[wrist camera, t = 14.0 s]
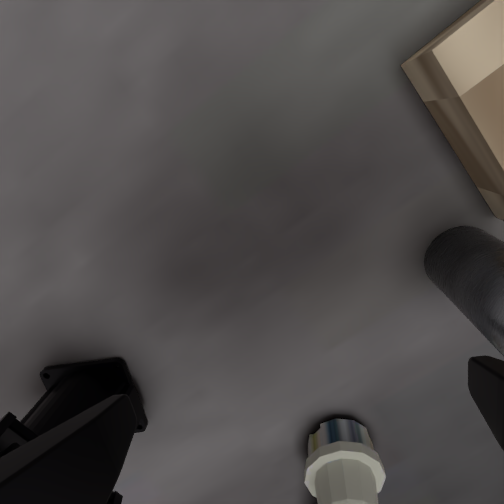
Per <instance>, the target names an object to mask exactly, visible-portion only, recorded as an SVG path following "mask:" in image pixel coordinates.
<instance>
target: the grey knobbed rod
mask: <svg viewBox="0 0 504 504" xmlns="http://www.w3.org/2000/svg"><path fill="white" fill-rule="evenodd" d="M385 478H386V475H385V471H384V467H383V464H382V462H381V460H380V458H379V455H378V453H377V452H375V451H374V448H373V443H372V440H371V439H370V437H369V435H368V433H367V428H365V427H364V426H362V425H361V424H359V423H357V422H356V421H354V420H347V419H333V420H330V421H327V422H324V423H321V424H320V429H319V430H318V431H317V432H316V433H315V434H310V435H309V441H308V458H307V459H306V465H305V471H304V482H305V484H306V486H307V488H308V489H309V491H310V493H311V494H312V496H314V497H316V498H317V502H318V504H378V496H377V493H379V492H380V491H381V489H382V486H383V483H384V481H385Z"/></svg>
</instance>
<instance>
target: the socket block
mask: <svg viewBox="0 0 504 504" xmlns="http://www.w3.org/2000/svg"><path fill="white" fill-rule="evenodd" d="M401 67H402V68H403V70H404V72H405V73H406V75H407V76H408V78H409V80H410V81H411V83H412V84H413V86H414V88H415V89H416V91H417V92H418V94H419V96H420V97H421V99H422V100H423V102H424V104H425V105H426V107H427V108H428V110H429V112H430V113H431V115H432V116H433V118H434V120H435V121H436V123H437V124H438V126H439V128H440V129H441V131H442V132H443V134H444V136H445V137H446V139H447V140H448V142H449V144H450V145H451V147H452V148H453V150H454V151H455V153H456V155H457V156H458V158H459V159H460V161H461V163H462V164H463V166H464V167H465V169H466V171H467V172H468V174H469V175H470V177H471V179H472V180H473V182H474V183H475V185H476V187H477V188H478V190H479V191H480V193H481V195H482V196H483V198H484V199H485V201H486V203H487V204H488V206H489V207H490V209H491V211H492V212H493V214H494V215H495V217H496V218H499V219H501V220H503V221H504V0H481V1H479V2H478V3H477V4H476V5H474V6H473V7H472V8H471V9H470V10H468V11H467V12H466V13H465V14H463V15H462V16H461V17H460V18H458V19H457V20H456V21H455V22H453V23H452V24H451V25H450V26H449V27H447V28H446V29H445V30H444V31H442V32H441V33H440V34H439V35H437V36H436V37H435V38H434V39H432V40H431V41H430V42H429V43H427V44H426V45H425V46H424V47H423V48H421V49H420V50H419V51H418V52H416V53H415V54H414V55H413V56H411V57H410V58H409V59H408V60H406V61H405V62H404V63H403V64H402V65H401Z"/></svg>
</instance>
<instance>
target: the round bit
mask: <svg viewBox="0 0 504 504" xmlns="http://www.w3.org/2000/svg"><path fill="white" fill-rule="evenodd" d="M424 265H425V270H426V273H427V275H428V277H429V278H430V279H431V280H432V281H433V282H434V283H435V285H436V286H437V287H438V288H439V289H440V290H441V291H442V292H443V293H444V294H445V295H446V296H447V297H448V298H449V299H450V300H451V301H452V302H453V303H454V305H455V306H456V307H457V308H458V309H459V310H460V311H461V312H462V313H463V314H464V315H465V316H466V317H467V318H468V319H469V320H470V321H471V322H472V324H473V325H474V326H475V327H476V328H477V329H478V330H479V331H480V332H481V333H482V334H483V335H484V336H485V337H486V338H487V339H488V340H489V341H490V343H491V344H492V345H493V346H494V347H495V348H496V349H497V350H498V351H499V352H500V353H501V354H502V355H503V356H504V242H503V241H501V240H499V239H497V238H496V237H494V236H492V235H490V234H488V233H486V232H484V231H483V230H481V229H478V228H475V227H470V226H462V227H456V228H452V229H450V230H447V231H445V232H444V233H442V234H441V235H439V236H438V237H437V238H436V239H435V240H434V241H433V242H432V243H431V245H430V246H429V248H428V250H427V252H426V255H425V260H424Z"/></svg>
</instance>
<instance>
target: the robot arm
mask: <svg viewBox="0 0 504 504" xmlns="http://www.w3.org/2000/svg"><path fill="white" fill-rule="evenodd" d="M116 365H118V366H119V367H118V366H116ZM40 377H41V379H42V381H43V383H44V385H45V387H46V389H47V392H46V393H45V394H44V395H43V396H42V397H41V399H40V400H39V401H38V402H37V403H36V404H35V405H34V407H33V408H32V409H31V410H30V411H29V412H28V413H27V415H26V416H25V417H24V418H23V419H22V420H21V422H19V421H18V420H17V419H16V416H15V415H13V414H12V413H11V412H8V413H7V414H6V415H5V416H4V417H3V418H2V419H1V420H0V504H121V502H122V497H123V496H122V495H120V494H119V493H118V492H116V491H115V492H113V491H112V490H113V488H114V486H115V484H116V482H117V479H118V477H119V474H120V472H121V469H122V467H123V464H124V461H125V458H126V455H127V452H128V449H129V446H130V444H131V441H132V438H133V435H134V433H137V432H143V431H145V429H146V427H147V425H148V424H147V420H146V417H145V415H144V410H143V407H142V404H141V402H140V399H139V396H138V394H137V391H136V388H135V386H134V385H133V383H132V380H131V378H130V375H129V372H128V370H127V367H126V364H125V362H124V361H123V360H122V359H119V358H114V359H106V360H98V361H90V362H82V363H74V364H66V365H58V366H50V367H45V368H44V369H43V370H42V371H41V372H40ZM468 387H469V391H470V394H471V396H472V398H473V400H474V401H475V403H476V405H477V407H478V408H479V410H480V412H481V414H482V415H483V417H484V419H485V421H486V422H487V424H488V426H489V428H490V429H491V431H492V433H493V435H494V436H495V438H496V440H497V441H498V443H499V445H500V446H501V448H502V449H503V451H504V361H502V360H499V359H496V358H493V357H490V356H476V357H471V358H470V359H469V361H468Z"/></svg>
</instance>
